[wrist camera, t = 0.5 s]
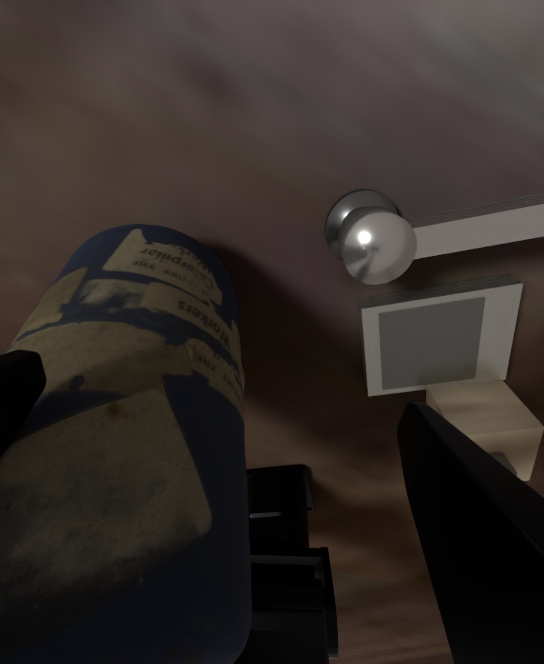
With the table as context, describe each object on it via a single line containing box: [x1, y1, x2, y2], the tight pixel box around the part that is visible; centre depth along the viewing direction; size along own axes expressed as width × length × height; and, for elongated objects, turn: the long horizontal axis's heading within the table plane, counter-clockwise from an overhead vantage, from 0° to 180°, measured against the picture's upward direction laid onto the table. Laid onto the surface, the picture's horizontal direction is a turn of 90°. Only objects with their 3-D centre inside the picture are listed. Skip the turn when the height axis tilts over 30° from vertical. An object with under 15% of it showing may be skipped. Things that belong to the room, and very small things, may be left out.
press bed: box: [357, 274, 523, 396], centre depth 21 cm, size 7×9×2 cm
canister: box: [0, 224, 252, 664], centre depth 13 cm, size 10×10×18 cm
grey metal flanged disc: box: [325, 189, 398, 260], centre depth 18 cm, size 4×4×2 cm
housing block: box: [426, 380, 544, 481], centre depth 23 cm, size 5×5×6 cm
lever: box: [338, 192, 544, 285], centre depth 15 cm, size 3×14×2 cm, turn 102°
